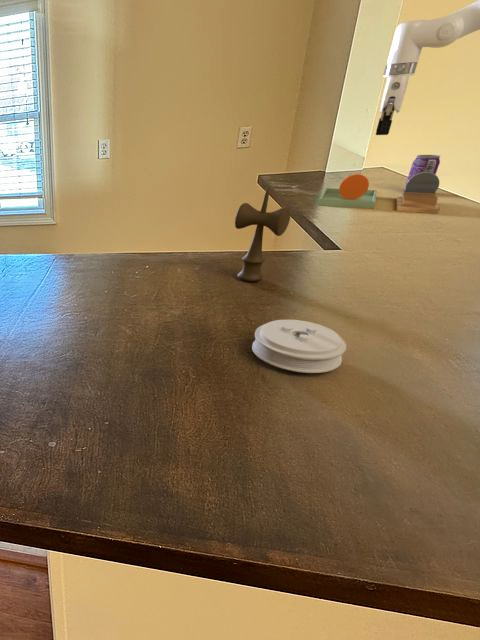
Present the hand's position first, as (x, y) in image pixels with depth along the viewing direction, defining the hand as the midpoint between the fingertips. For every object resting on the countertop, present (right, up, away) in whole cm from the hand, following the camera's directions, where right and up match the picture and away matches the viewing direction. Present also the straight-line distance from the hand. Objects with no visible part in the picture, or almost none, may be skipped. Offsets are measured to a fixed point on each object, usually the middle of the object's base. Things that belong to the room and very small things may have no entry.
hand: (381, 133), depth 152 cm
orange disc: (-3, -14, +8) cm, 17 cm away
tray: (-3, -18, +11) cm, 21 cm away
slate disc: (+12, -17, -1) cm, 21 cm away
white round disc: (-74, -72, -74) cm, 127 cm away
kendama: (-65, -54, -44) cm, 95 cm away
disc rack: (+10, -24, -1) cm, 26 cm away
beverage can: (+23, -14, +14) cm, 31 cm away
